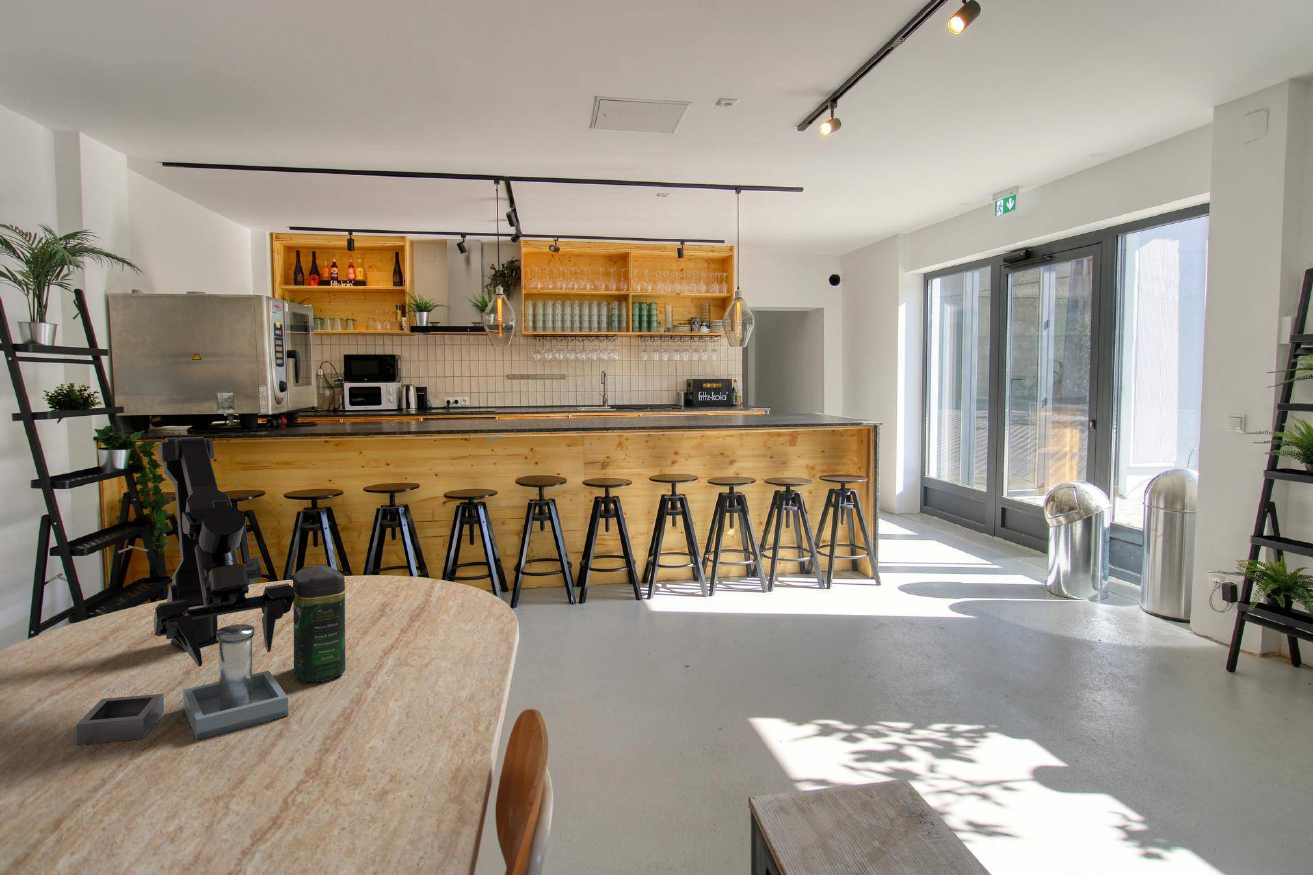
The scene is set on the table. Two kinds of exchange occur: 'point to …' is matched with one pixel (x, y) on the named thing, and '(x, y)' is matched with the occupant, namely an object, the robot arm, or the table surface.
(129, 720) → the grey square tray
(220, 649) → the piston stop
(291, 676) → the table surface
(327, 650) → the coffee jar
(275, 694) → the parts tray
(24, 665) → the table surface
